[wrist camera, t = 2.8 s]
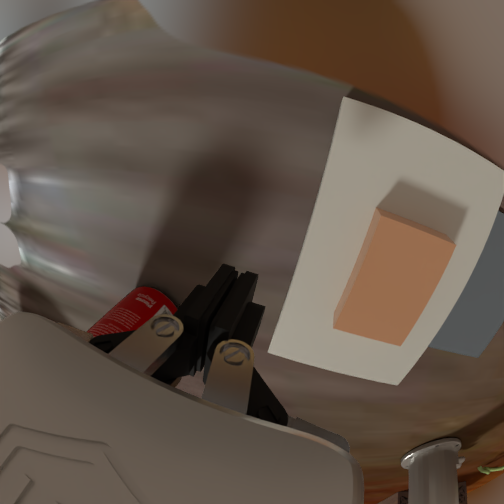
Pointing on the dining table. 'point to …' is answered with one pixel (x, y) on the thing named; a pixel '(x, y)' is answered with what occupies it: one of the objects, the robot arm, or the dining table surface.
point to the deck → (356, 226)
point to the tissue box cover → (400, 499)
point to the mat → (478, 301)
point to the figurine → (489, 469)
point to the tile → (392, 278)
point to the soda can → (133, 311)
